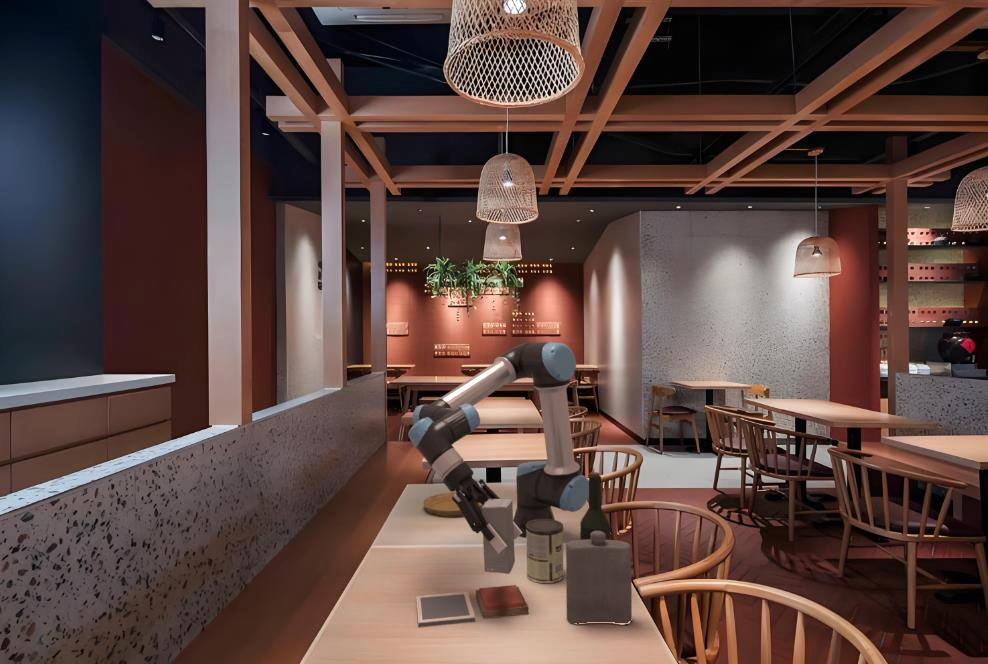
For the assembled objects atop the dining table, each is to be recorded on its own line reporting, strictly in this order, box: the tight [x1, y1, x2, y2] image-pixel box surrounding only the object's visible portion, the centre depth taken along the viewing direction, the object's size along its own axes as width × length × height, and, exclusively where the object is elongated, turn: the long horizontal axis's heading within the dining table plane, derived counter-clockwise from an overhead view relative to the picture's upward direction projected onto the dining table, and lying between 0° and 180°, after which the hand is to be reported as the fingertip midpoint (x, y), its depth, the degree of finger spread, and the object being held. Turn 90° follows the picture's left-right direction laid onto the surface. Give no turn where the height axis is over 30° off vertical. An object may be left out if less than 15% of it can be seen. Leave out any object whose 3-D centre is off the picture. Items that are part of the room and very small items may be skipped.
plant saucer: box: [422, 491, 483, 517], centre depth 212 cm, size 24×24×3 cm
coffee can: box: [525, 519, 565, 584], centre depth 151 cm, size 10×10×14 cm
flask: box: [565, 531, 633, 624], centre depth 128 cm, size 15×6×20 cm, turn 88°
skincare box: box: [481, 498, 516, 575], centre depth 134 cm, size 8×7×16 cm
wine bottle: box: [579, 471, 612, 540], centre depth 143 cm, size 8×8×30 cm
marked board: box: [415, 591, 476, 628], centre depth 132 cm, size 13×13×1 cm
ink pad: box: [475, 584, 529, 619], centre depth 134 cm, size 11×11×2 cm
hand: (510, 542), depth 133 cm, fingers closed on skincare box, 9 cm apart
